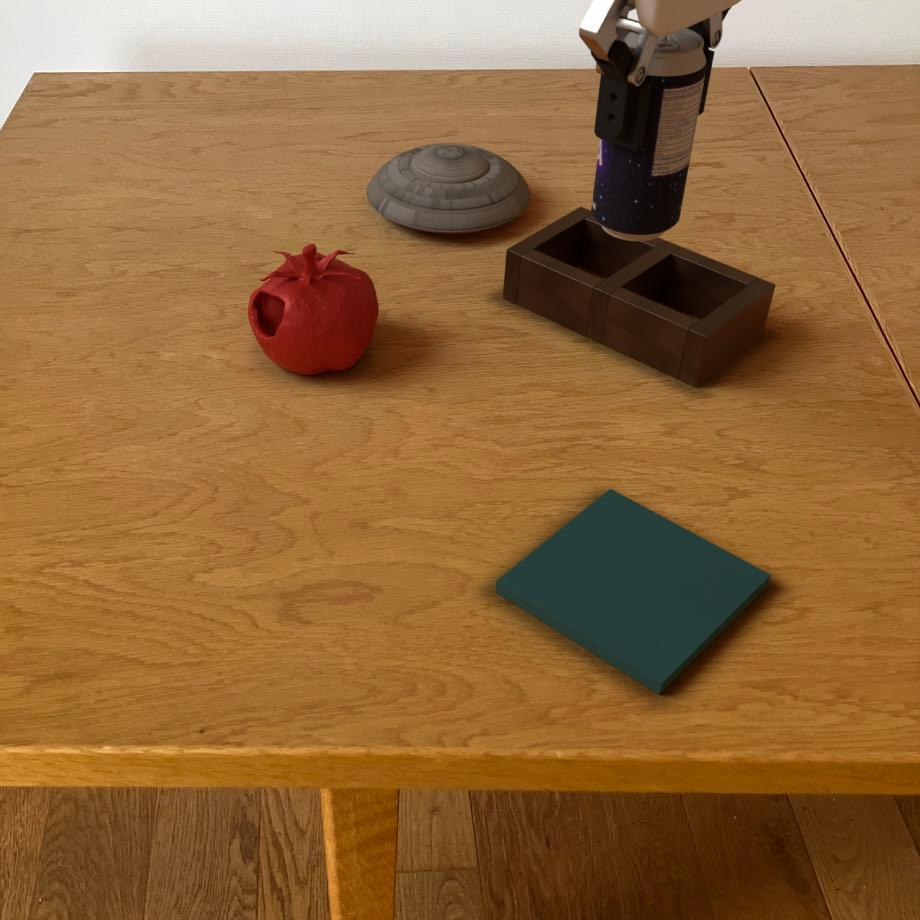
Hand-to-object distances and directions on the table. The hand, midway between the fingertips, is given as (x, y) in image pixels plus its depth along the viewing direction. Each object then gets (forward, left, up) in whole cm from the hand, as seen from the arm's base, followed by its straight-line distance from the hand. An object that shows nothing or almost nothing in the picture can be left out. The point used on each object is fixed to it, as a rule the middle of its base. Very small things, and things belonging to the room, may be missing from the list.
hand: (649, 122), depth 73 cm
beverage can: (0, 0, -7) cm, 7 cm away
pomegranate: (+21, +10, -22) cm, 31 cm away
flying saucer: (+29, -15, -22) cm, 39 cm away
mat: (-12, +15, -21) cm, 29 cm away
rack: (+6, -11, -21) cm, 25 cm away
